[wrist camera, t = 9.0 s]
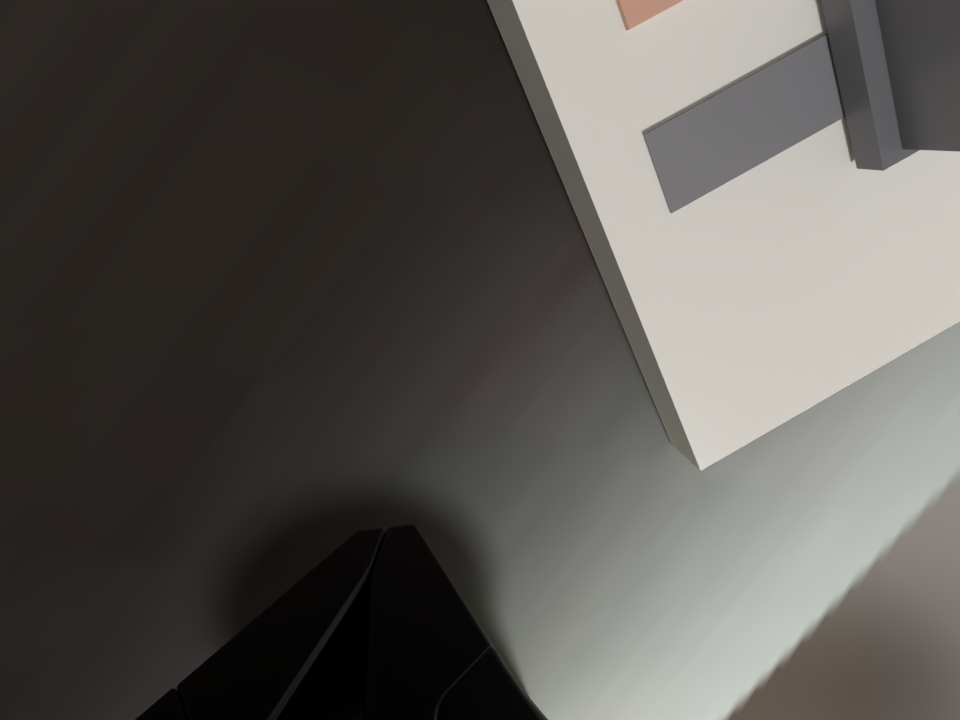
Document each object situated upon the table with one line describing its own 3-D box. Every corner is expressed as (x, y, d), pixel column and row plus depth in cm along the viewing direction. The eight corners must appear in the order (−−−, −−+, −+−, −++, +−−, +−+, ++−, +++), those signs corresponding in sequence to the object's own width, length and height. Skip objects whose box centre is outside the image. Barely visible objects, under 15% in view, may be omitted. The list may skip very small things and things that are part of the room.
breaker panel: (671, 444, 24) (703, 473, 22) (418, -165, 16) (432, -207, 14) (987, 263, 25) (1046, 275, 23) (894, -412, 17) (974, -486, 15)
